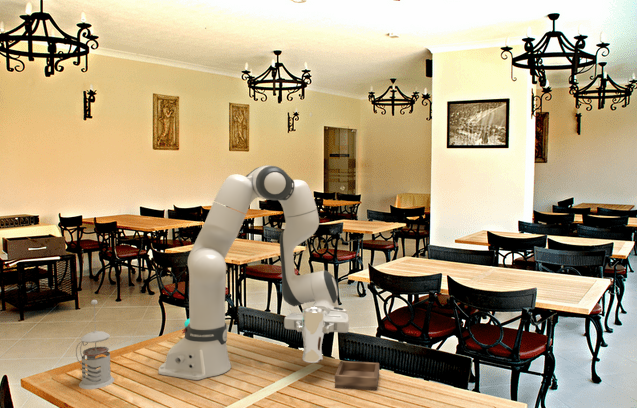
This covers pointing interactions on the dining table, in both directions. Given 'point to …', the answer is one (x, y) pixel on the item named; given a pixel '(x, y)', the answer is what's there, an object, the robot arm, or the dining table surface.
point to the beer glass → (313, 333)
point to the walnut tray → (357, 375)
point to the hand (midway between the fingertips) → (312, 330)
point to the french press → (95, 360)
